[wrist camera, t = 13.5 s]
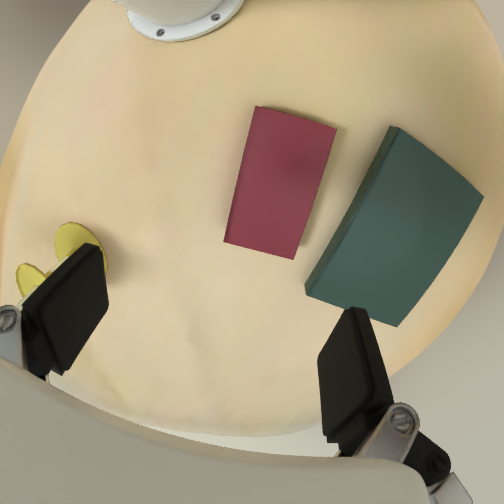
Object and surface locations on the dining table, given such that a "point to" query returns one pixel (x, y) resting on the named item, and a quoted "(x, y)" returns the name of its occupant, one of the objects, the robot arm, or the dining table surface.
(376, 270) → the green book
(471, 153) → the dining table surface
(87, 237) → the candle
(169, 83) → the dining table surface
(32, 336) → the robot arm
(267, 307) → the dining table surface
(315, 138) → the burgundy book
